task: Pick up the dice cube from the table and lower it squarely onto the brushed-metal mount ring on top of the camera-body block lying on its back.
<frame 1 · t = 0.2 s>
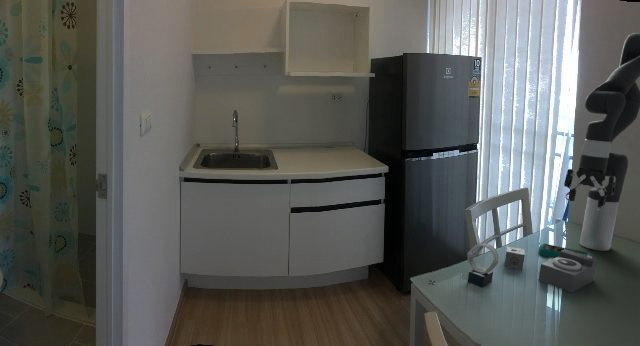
hand: (585, 204, 147), 17 cm above the table, tool pointing down, fingers open, 8 cm apart
watch: (479, 282, 125), on the table
dice cube: (513, 266, 138), on the table
digital multimeter: (563, 259, 147), on the table
camera body: (566, 280, 129), on the table
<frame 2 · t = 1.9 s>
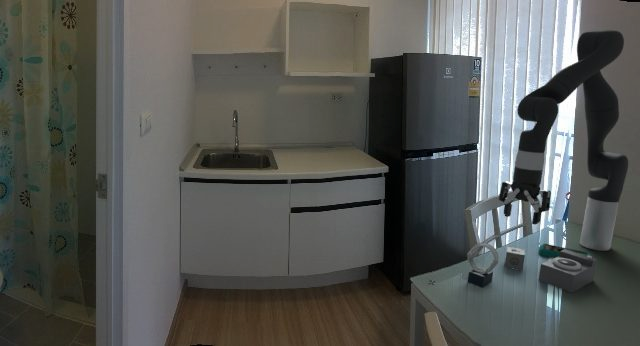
hand: (520, 220, 135), 15 cm above the table, tool pointing down, fingers open, 8 cm apart
nothing on the table moved.
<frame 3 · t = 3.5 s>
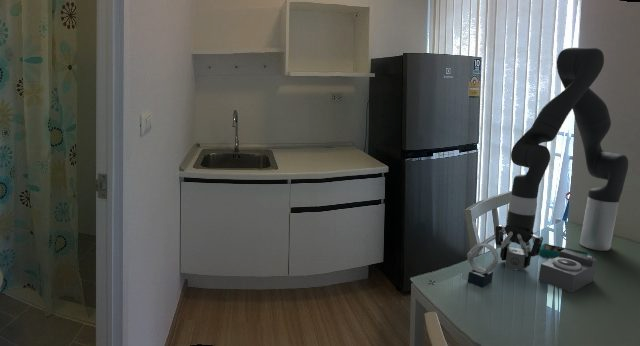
hand: (514, 263, 137), 1 cm above the table, tool pointing down, fingers closed on dice cube, 6 cm apart
dice cube: (513, 267, 137), on the table, touching gripper
everything else where it was.
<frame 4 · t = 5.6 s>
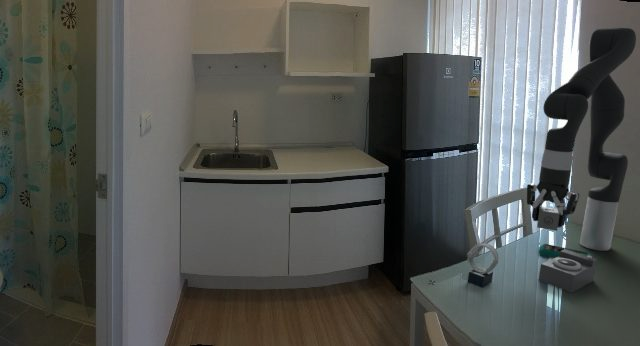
hand: (547, 223, 130), 15 cm above the table, tool pointing down, fingers closed on dice cube, 6 cm apart
dice cube: (546, 227, 129), point 14 cm above the table, touching gripper
everything else where it was.
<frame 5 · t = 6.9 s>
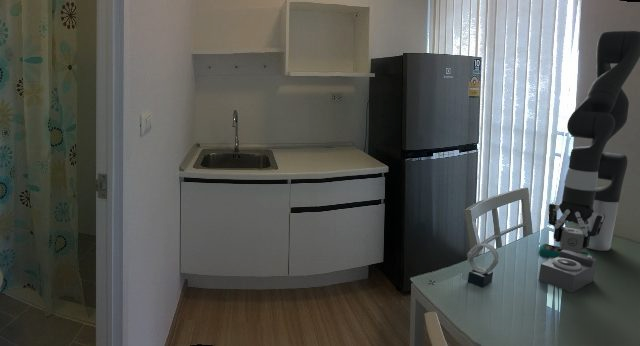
hand: (570, 244, 126), 11 cm above the table, tool pointing down, fingers closed on dice cube, 6 cm apart
dice cube: (570, 248, 125), point 10 cm above the table, touching gripper
everything else where it was.
when the fingers open (7 cm above the table, at t = 8.0 s): dice cube stays where it is, resting on camera body.
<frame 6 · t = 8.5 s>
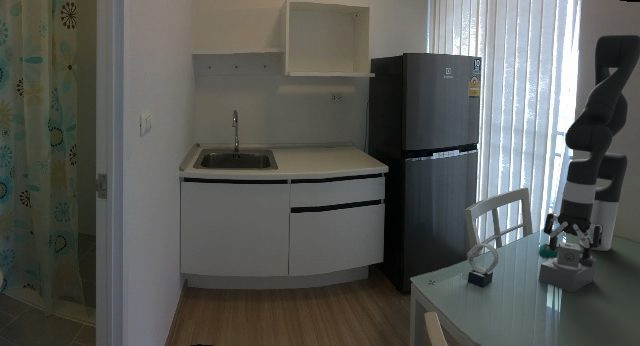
hand: (568, 254, 126), 8 cm above the table, tool pointing down, fingers open, 8 cm apart
dice cube: (566, 263, 126), point 6 cm above the table, touching camera body
everything else where it was.
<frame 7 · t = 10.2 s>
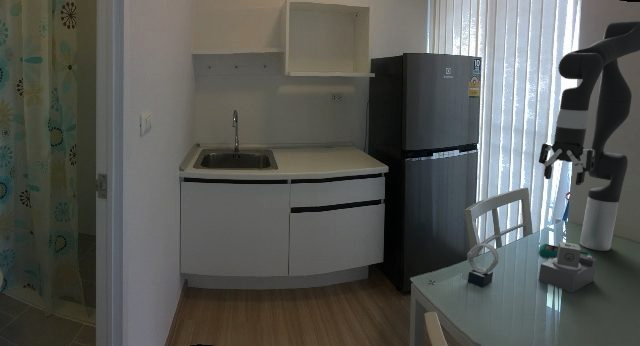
hand: (562, 181, 132), 27 cm above the table, tool pointing down, fingers open, 8 cm apart
nothing on the table moved.
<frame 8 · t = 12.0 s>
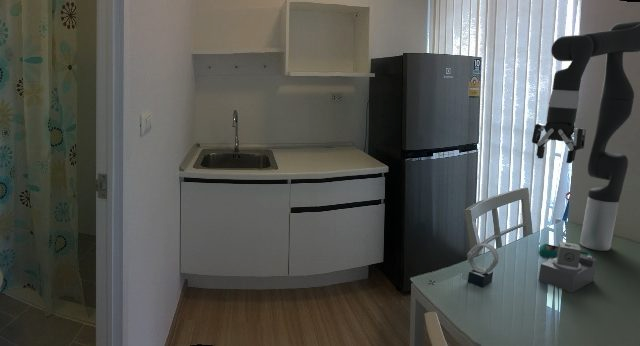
hand: (554, 160, 136), 32 cm above the table, tool pointing down, fingers open, 8 cm apart
nothing on the table moved.
at the end: dice cube inside the target area on the camera body (0.4 cm from its centre), point 5.7 cm above the camera body's base; the gripper is holding nothing; dice cube touching camera body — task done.
